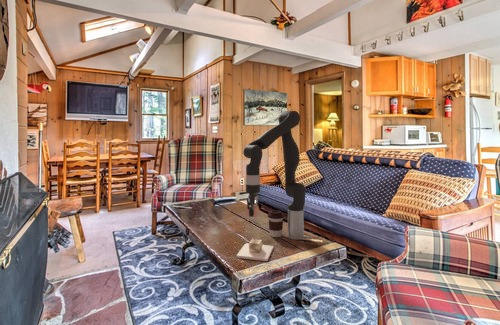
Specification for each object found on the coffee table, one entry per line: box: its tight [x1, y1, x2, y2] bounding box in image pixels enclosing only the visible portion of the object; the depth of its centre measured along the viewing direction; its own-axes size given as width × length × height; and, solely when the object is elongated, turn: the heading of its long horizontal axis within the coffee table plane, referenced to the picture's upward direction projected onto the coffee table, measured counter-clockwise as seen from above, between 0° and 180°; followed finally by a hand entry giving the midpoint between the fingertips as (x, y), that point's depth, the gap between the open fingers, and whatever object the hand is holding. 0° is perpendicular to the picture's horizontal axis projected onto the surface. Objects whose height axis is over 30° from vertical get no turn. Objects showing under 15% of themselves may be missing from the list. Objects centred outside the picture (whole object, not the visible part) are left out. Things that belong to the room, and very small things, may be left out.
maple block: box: [249, 238, 263, 253], centre depth 143 cm, size 6×6×5 cm
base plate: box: [236, 242, 274, 262], centre depth 144 cm, size 16×16×1 cm
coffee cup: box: [267, 209, 285, 238], centre depth 167 cm, size 10×10×15 cm
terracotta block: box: [246, 205, 260, 218], centre depth 145 cm, size 5×5×5 cm
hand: (252, 214), depth 145 cm, fingers closed on terracotta block, 5 cm apart
